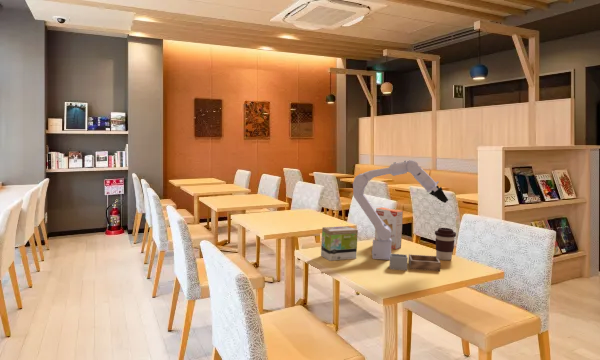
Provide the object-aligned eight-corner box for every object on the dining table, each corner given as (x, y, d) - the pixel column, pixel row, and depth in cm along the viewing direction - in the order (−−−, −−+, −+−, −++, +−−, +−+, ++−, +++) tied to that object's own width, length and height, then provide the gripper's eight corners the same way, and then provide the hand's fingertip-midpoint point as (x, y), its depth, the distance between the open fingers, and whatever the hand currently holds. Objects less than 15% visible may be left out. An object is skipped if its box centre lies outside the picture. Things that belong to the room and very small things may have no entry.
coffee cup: (455, 262, 202) (457, 231, 201) (434, 260, 204) (436, 230, 203) (452, 256, 212) (454, 227, 210) (432, 255, 214) (434, 226, 212)
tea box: (329, 261, 198) (330, 231, 196) (320, 256, 207) (321, 227, 206) (357, 258, 204) (358, 229, 202) (346, 253, 213) (347, 225, 212)
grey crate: (390, 269, 188) (390, 256, 188) (389, 266, 193) (390, 253, 193) (406, 270, 187) (407, 257, 187) (405, 267, 192) (406, 254, 191)
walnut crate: (410, 269, 189) (411, 260, 189) (408, 262, 199) (408, 254, 199) (439, 271, 187) (440, 262, 187) (436, 264, 197) (436, 256, 197)
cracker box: (373, 244, 232) (375, 207, 230) (380, 243, 236) (382, 206, 234) (395, 250, 222) (396, 211, 220) (401, 248, 226) (403, 210, 224)
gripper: (433, 174, 191) (454, 196, 189) (429, 174, 205) (448, 194, 204) (421, 185, 192) (442, 206, 191) (418, 183, 206) (438, 204, 205)
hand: (445, 201), depth 197 cm, fingers open, 7 cm apart
